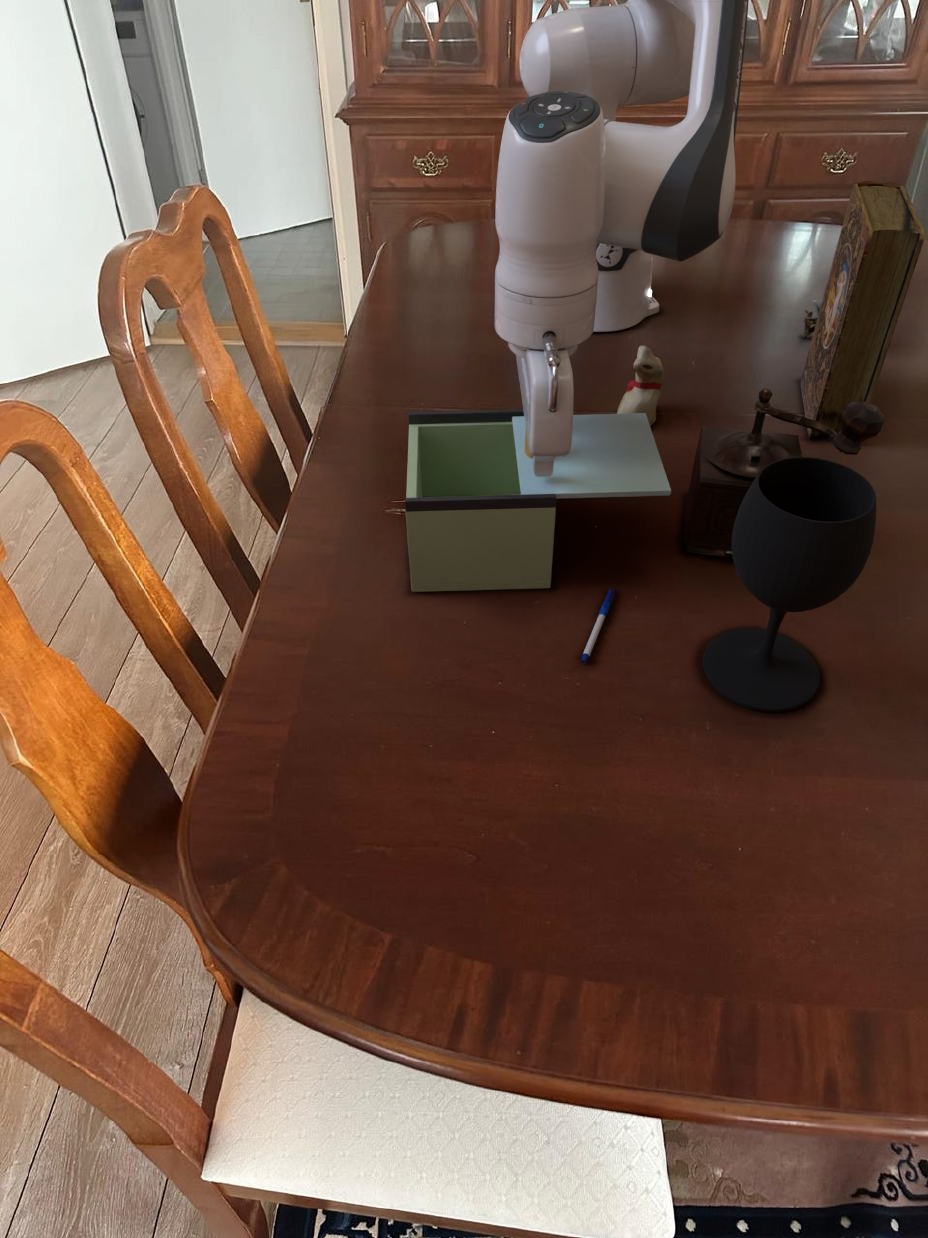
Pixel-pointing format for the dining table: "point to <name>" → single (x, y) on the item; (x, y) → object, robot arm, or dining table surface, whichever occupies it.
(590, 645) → the ballpoint pen
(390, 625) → the dining table surface
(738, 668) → the wine glass
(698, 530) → the vintage coffee grinder
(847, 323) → the book
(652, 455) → the light blue sliding lid
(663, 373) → the chocolate bunny
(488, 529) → the case
